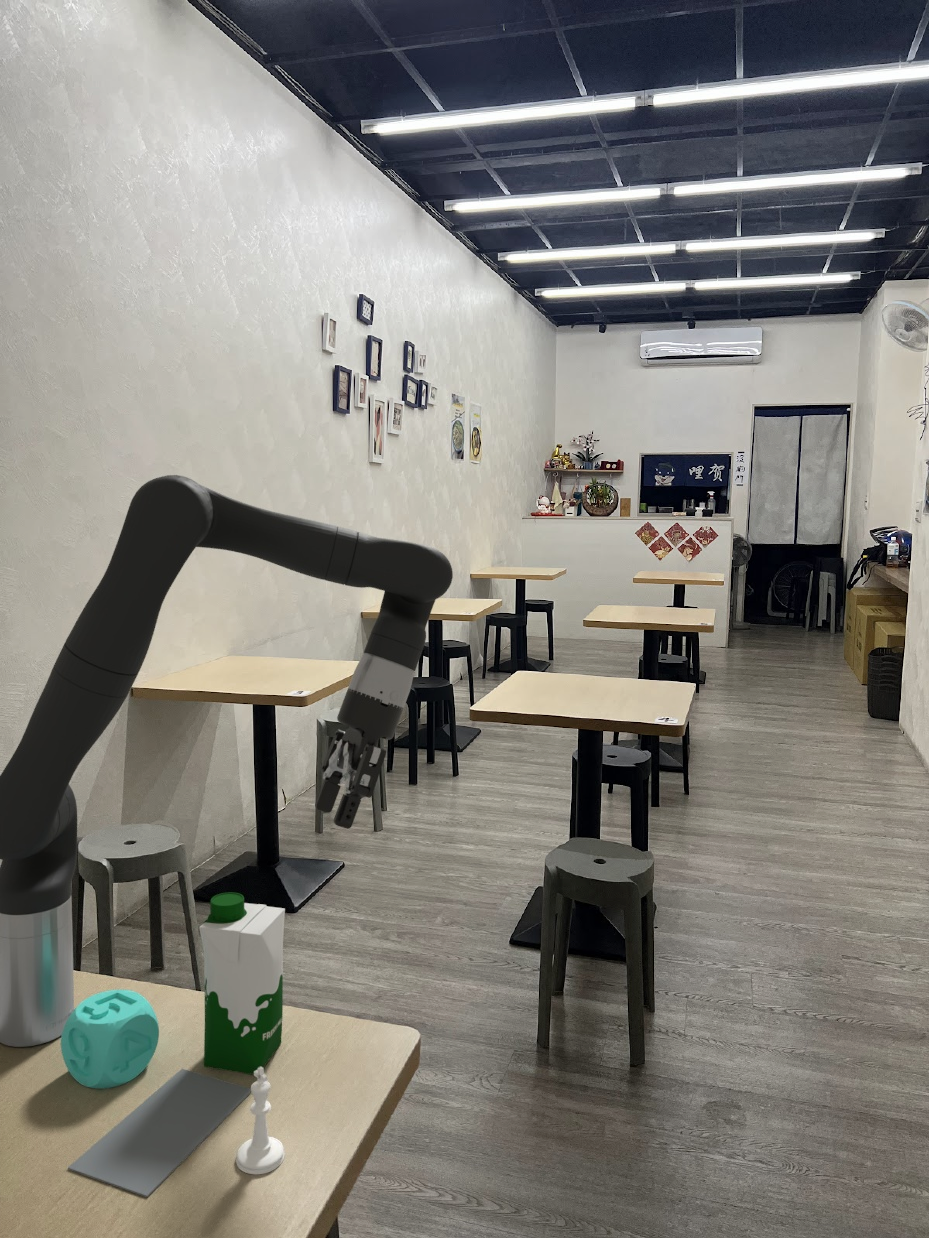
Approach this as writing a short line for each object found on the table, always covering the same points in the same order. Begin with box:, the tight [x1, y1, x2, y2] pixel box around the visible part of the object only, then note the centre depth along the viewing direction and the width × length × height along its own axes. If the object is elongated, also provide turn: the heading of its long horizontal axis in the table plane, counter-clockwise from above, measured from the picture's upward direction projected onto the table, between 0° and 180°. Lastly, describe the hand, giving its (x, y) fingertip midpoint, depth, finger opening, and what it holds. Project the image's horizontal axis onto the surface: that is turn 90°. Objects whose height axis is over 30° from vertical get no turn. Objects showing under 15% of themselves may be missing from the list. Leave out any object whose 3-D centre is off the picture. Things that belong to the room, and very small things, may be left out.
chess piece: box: [235, 1067, 285, 1176], centre depth 94 cm, size 5×5×10 cm
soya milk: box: [199, 891, 286, 1076], centre depth 111 cm, size 9×9×20 cm
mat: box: [67, 1068, 252, 1198], centre depth 98 cm, size 10×18×1 cm, turn 159°
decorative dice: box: [60, 989, 160, 1090], centre depth 108 cm, size 8×8×8 cm
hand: (331, 818), depth 112 cm, fingers open, 8 cm apart
